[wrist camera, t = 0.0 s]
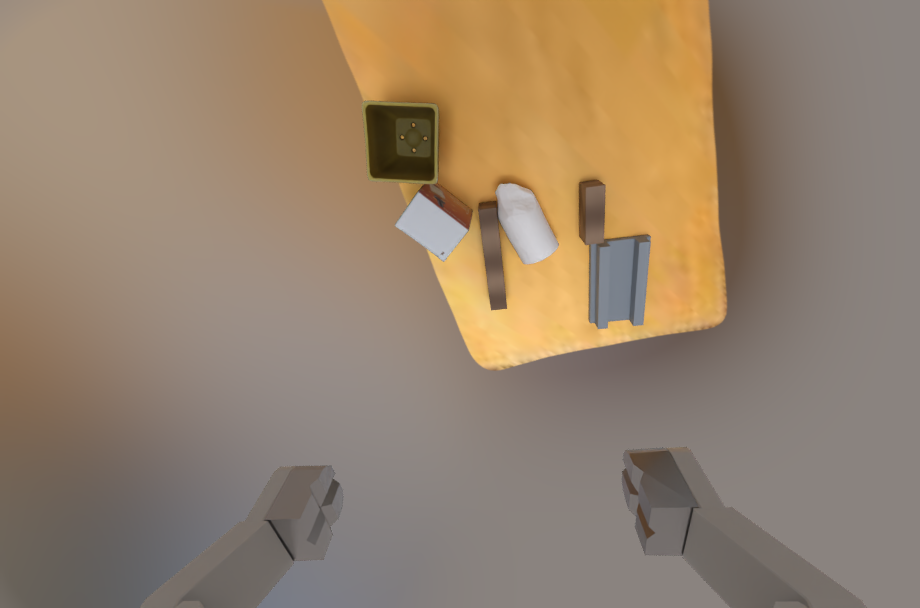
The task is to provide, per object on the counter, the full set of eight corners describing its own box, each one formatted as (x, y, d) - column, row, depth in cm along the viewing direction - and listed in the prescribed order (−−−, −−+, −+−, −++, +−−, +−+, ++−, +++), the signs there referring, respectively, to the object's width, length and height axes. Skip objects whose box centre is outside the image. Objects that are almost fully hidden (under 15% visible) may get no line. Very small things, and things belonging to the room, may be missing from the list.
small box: (473, 210, 55) (470, 230, 46) (451, 238, 57) (444, 263, 48) (430, 176, 53) (418, 190, 44) (409, 206, 56) (393, 226, 46)
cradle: (589, 241, 56) (594, 248, 54) (648, 234, 55) (656, 240, 52) (588, 320, 63) (593, 329, 60) (641, 315, 61) (648, 324, 59)
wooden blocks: (478, 196, 54) (477, 202, 51) (597, 179, 52) (605, 185, 48) (491, 298, 62) (491, 310, 58) (595, 287, 60) (602, 299, 56)
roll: (520, 167, 52) (523, 173, 47) (556, 238, 56) (562, 250, 51) (483, 189, 54) (482, 197, 49) (521, 256, 58) (524, 270, 53)
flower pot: (445, 173, 53) (437, 185, 45) (385, 170, 53) (367, 181, 45) (446, 104, 49) (438, 103, 41) (381, 101, 49) (360, 100, 41)
